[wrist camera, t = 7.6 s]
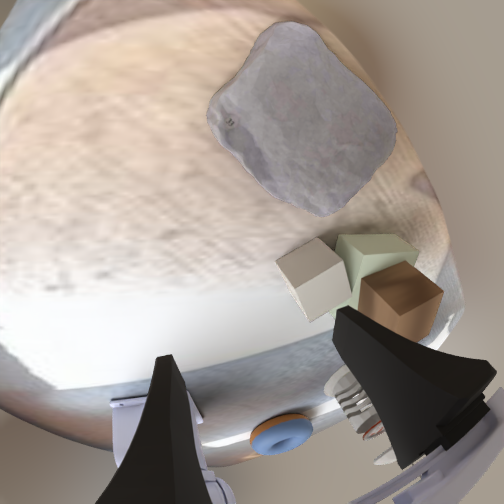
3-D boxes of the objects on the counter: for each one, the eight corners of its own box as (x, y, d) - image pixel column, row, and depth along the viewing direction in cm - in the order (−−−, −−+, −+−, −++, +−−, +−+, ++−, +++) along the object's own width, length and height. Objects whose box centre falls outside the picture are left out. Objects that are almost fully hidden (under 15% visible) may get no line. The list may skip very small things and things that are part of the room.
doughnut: (318, 405, 37) (327, 430, 33) (295, 432, 42) (301, 453, 38) (256, 411, 34) (262, 439, 30) (241, 437, 39) (245, 460, 35)
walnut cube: (355, 322, 23) (386, 359, 19) (361, 278, 21) (400, 316, 17) (396, 303, 24) (428, 334, 20) (405, 260, 22) (444, 291, 17)
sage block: (319, 299, 26) (340, 326, 23) (336, 233, 23) (363, 255, 20) (373, 291, 28) (394, 312, 25) (392, 232, 25) (419, 251, 22)
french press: (310, 397, 35) (389, 538, 14) (362, 340, 32) (474, 491, 11) (352, 395, 40) (424, 508, 18) (398, 345, 36) (491, 461, 15)
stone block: (306, 207, 23) (383, 123, 19) (325, 239, 19) (418, 139, 15) (185, 124, 18) (274, 19, 14) (177, 138, 14) (293, 4, 10)
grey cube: (290, 293, 24) (310, 322, 21) (274, 260, 22) (294, 289, 19) (328, 271, 25) (352, 296, 21) (317, 236, 22) (343, 260, 19)
